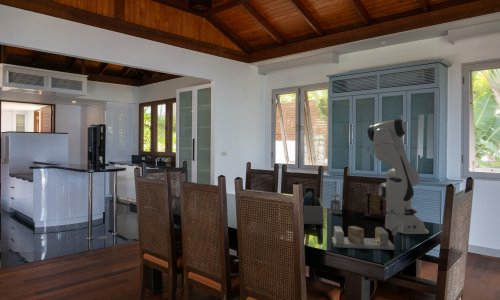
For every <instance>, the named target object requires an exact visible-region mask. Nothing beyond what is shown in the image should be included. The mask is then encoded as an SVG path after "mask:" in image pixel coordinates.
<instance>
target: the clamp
mask: <svg viewBox="0 0 500 300" xmlns="http://www.w3.org/2000/svg"><path fill="white" fill-rule="evenodd" d="M303 189H304V193H303V194H304V197H303V198H304V206H316V198H317V187H316V186H315V187H314V186H304V188H303Z"/></svg>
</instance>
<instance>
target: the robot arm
mask: <svg viewBox="0 0 500 300" xmlns="http://www.w3.org/2000/svg"><path fill="white" fill-rule="evenodd" d="M406 132H407V127H406V123H405V122H404V121H403V119H400V118H396V119H395V118H394V119H390V120H385V121H382V122H379V123H376V124H371V125H370V126H369V127H368V128H367V136H368V139H369V140H370V141H371V142H373V150H374V151H373V153H374V156H375V158H376V159H377V160H378V161H379V162H381V163H383V164H386V165H390V166H391V167H392V168H390V169H388V170H386V173H385V178H386V181H385V182H381V183H380V184H379V185H378V187H377V194H378V196H379V197H380V200H381V199H383V201H386V203H385V211H386V214H385V215H386V218H384V227H385V230H386V229H387V230H388V229H389V231H391V235H392V236H396V235H398V233H401V234H405V235H423V234H425V235H427V234H428V235H429V233H430V231H429V230H428V229H427V228H426V226H425V223H424V221H423V220H421V219H420V217H418V216H417V215H415V214H418V211H417V210H416V209H414V208H412V198H413V197H414V194H415V191H414V188H413V187H415V186H417V185H418V184H419V183H420V180H421V177H420V174H419V173H418V172H417V171H416V170H415V168H414V167H413V166H412V164H411V163H410V161H409V158H408V157H407V152H406V149H405V145H404V141H403V139H402V137H403V136H404V135H405V134H406Z"/></svg>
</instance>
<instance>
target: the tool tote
mask: <svg viewBox="0 0 500 300" xmlns="http://www.w3.org/2000/svg"><path fill="white" fill-rule="evenodd" d="M302 198H303V202H304V197H302ZM303 207H304V224H303V225H324V210H323V209H324V206H323V203H322V200H321V198H319V197H316V206H303Z"/></svg>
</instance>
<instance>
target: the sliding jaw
mask: <svg viewBox="0 0 500 300" xmlns="http://www.w3.org/2000/svg"><path fill="white" fill-rule="evenodd" d="M374 238H376V239H377V241H378V242H379V243H380V244H381V245H388V240H389V233H388V231H387V230H386V229H384V228H383V226H381V227H380V226H376V227H375V229H374Z"/></svg>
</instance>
